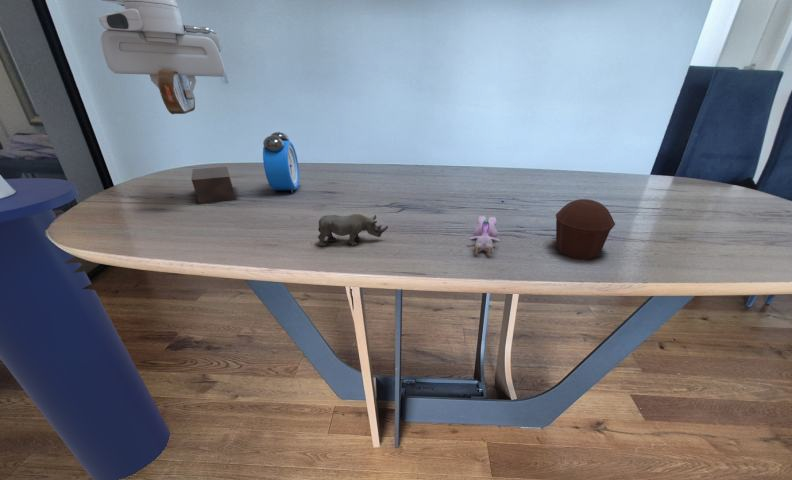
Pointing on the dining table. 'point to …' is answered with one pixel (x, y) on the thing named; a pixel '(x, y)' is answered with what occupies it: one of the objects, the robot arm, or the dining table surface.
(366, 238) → the dining table surface
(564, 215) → the muffin
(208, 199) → the walnut block
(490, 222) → the rabbit figure
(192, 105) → the tin
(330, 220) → the rhino figurine
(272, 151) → the alarm clock
